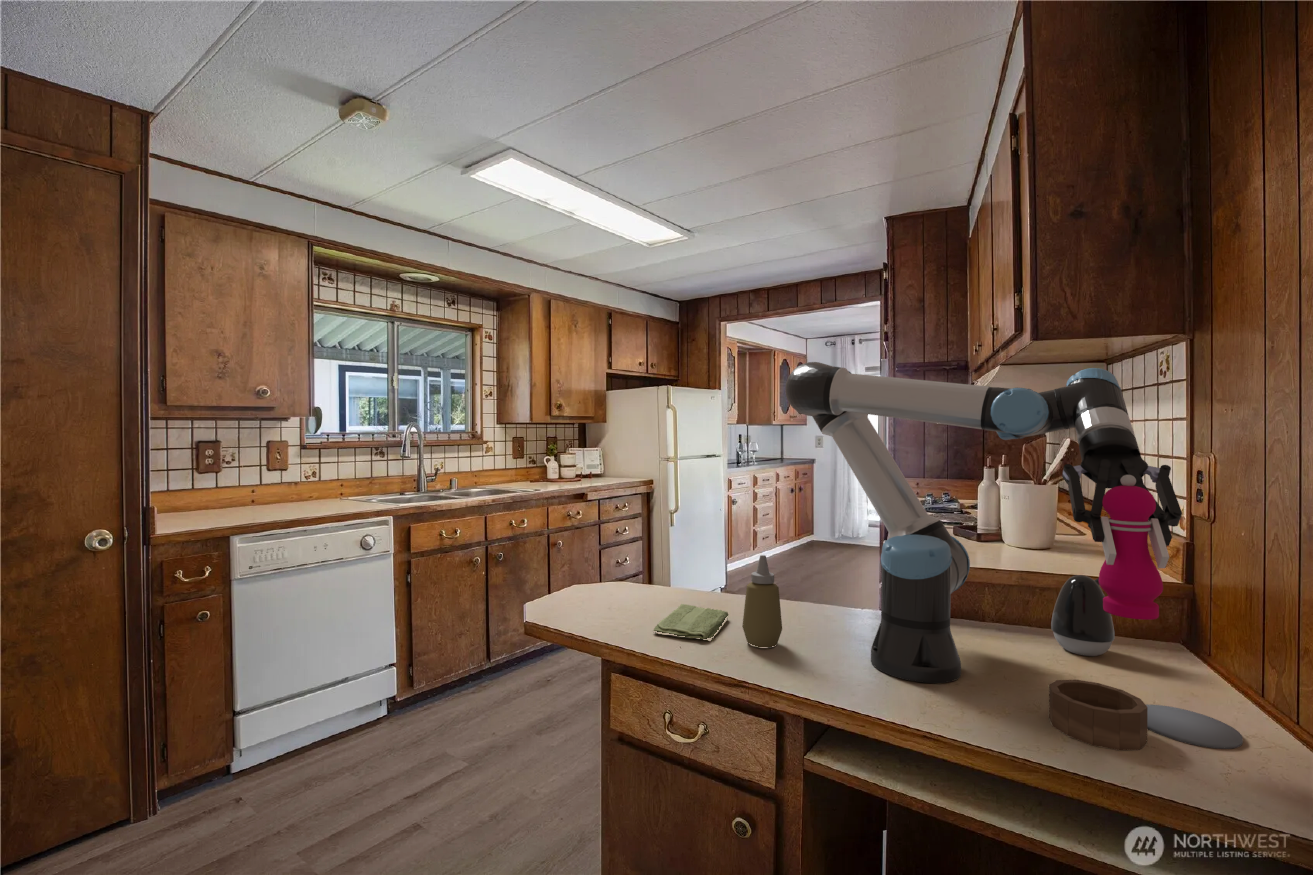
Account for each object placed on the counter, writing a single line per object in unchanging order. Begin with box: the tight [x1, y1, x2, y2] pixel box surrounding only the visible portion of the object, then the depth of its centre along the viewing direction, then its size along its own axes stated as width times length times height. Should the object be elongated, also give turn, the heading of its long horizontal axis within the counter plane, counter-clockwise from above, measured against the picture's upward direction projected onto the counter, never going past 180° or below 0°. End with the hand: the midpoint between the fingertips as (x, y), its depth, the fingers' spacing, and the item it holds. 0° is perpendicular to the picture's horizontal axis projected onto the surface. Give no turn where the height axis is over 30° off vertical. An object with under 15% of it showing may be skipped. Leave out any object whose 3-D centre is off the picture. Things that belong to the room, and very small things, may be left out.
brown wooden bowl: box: [1048, 679, 1148, 751], centre depth 84 cm, size 11×11×5 cm
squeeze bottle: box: [742, 554, 783, 647], centre depth 118 cm, size 8×8×18 cm
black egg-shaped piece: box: [1050, 574, 1115, 657], centre depth 116 cm, size 10×10×15 cm
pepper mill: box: [1098, 475, 1164, 621], centre depth 84 cm, size 7×7×20 cm
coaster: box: [1145, 704, 1244, 750], centre depth 85 cm, size 12×12×1 cm
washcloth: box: [652, 603, 729, 639], centre depth 129 cm, size 13×18×3 cm
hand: (1137, 560), depth 81 cm, fingers closed on pepper mill, 5 cm apart
